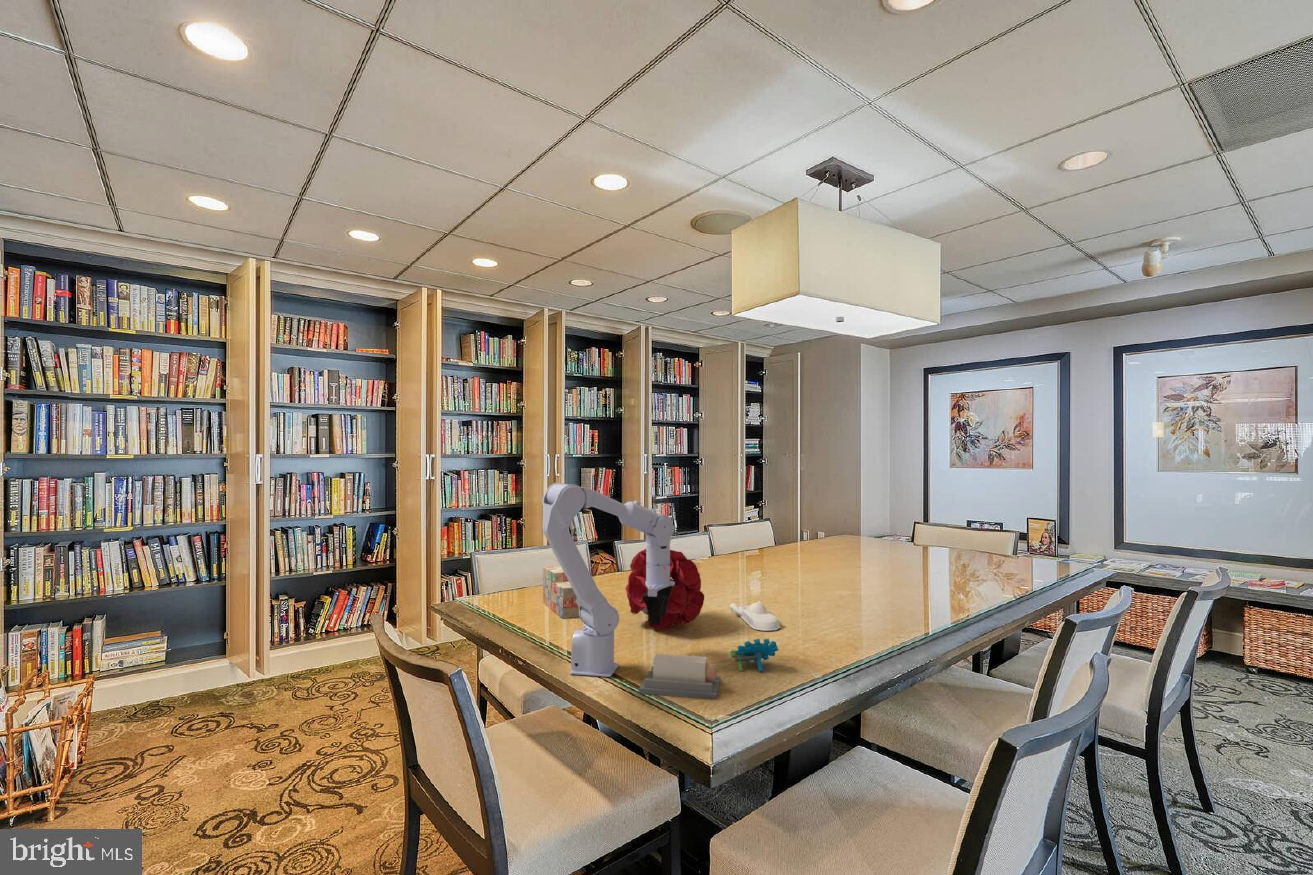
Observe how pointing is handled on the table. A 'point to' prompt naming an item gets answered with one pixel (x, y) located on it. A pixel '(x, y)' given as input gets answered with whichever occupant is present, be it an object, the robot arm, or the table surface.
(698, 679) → the cream rectangular bar
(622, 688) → the table surface
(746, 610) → the white domed paddle shape
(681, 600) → the bouquet
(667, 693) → the cradle
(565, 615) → the stack of blocks
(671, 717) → the table surface
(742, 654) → the blue brick toy animal
